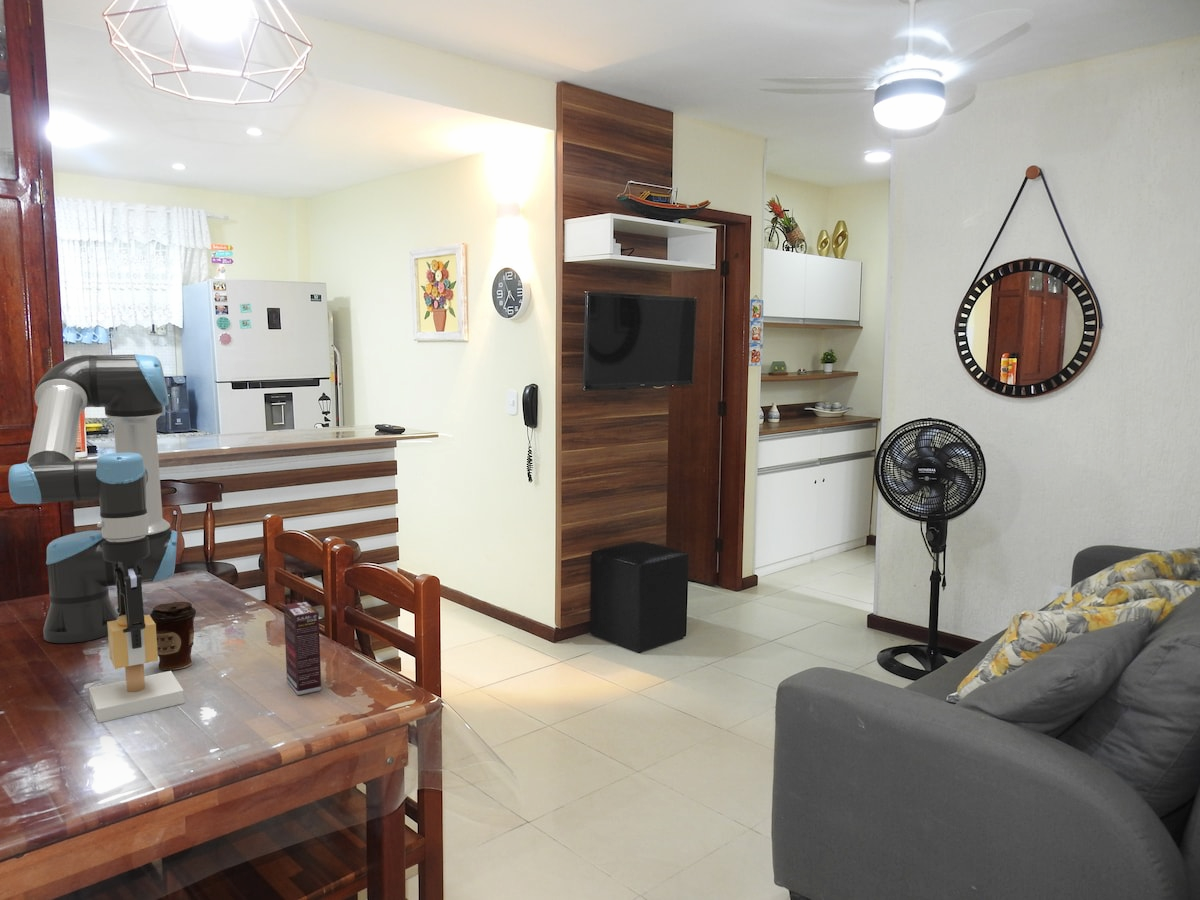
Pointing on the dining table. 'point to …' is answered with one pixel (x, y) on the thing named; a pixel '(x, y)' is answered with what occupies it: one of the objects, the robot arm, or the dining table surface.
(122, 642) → the cube with hemisphere knob
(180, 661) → the coffee cup
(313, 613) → the supplement box
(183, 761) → the dining table surface
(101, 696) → the white rectangular block
